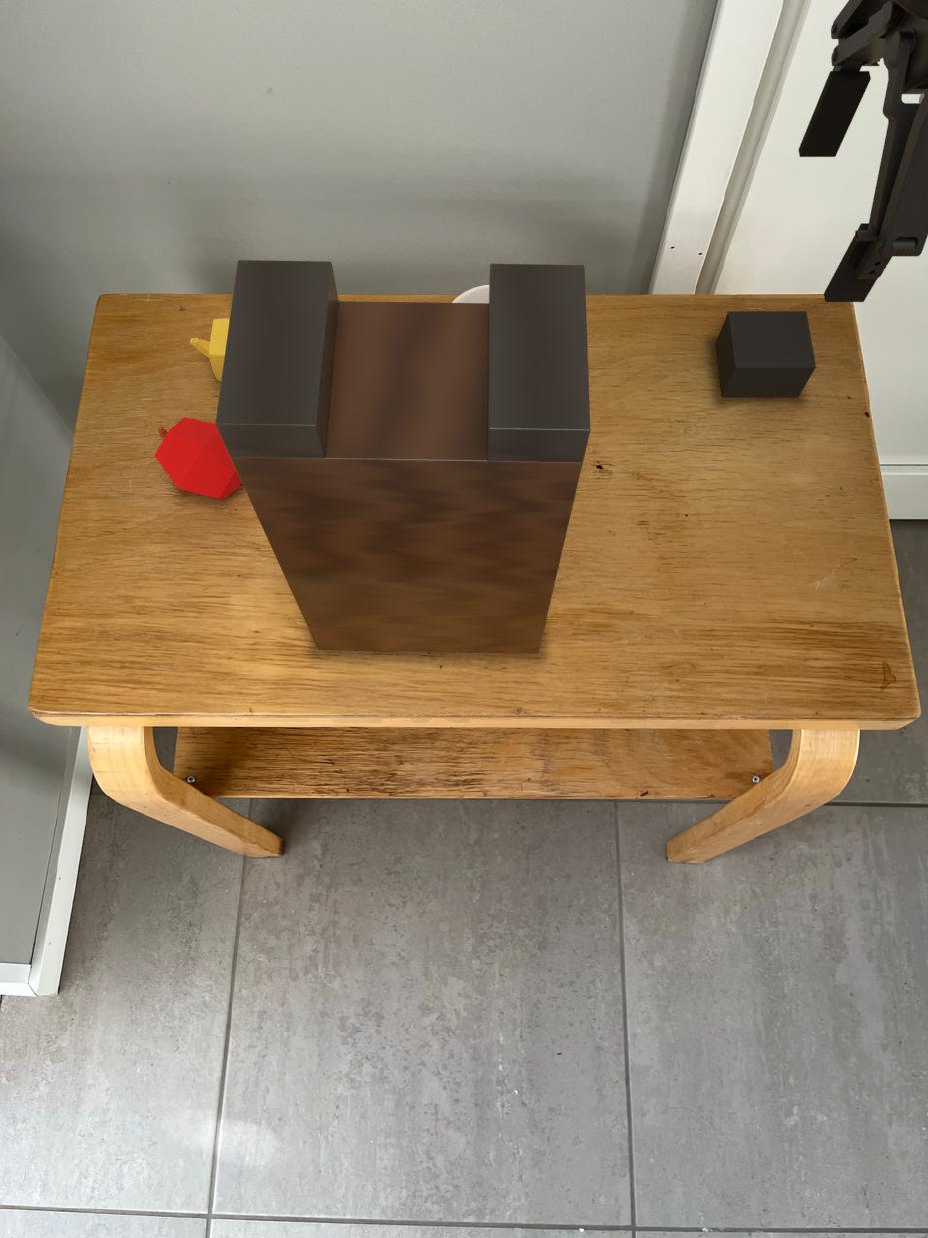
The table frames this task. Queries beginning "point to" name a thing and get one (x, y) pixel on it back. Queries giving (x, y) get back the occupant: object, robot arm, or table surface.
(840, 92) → the robot arm
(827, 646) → the table surface
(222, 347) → the teapot
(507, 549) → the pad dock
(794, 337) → the pad
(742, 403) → the table surface
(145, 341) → the table surface
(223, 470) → the apple
